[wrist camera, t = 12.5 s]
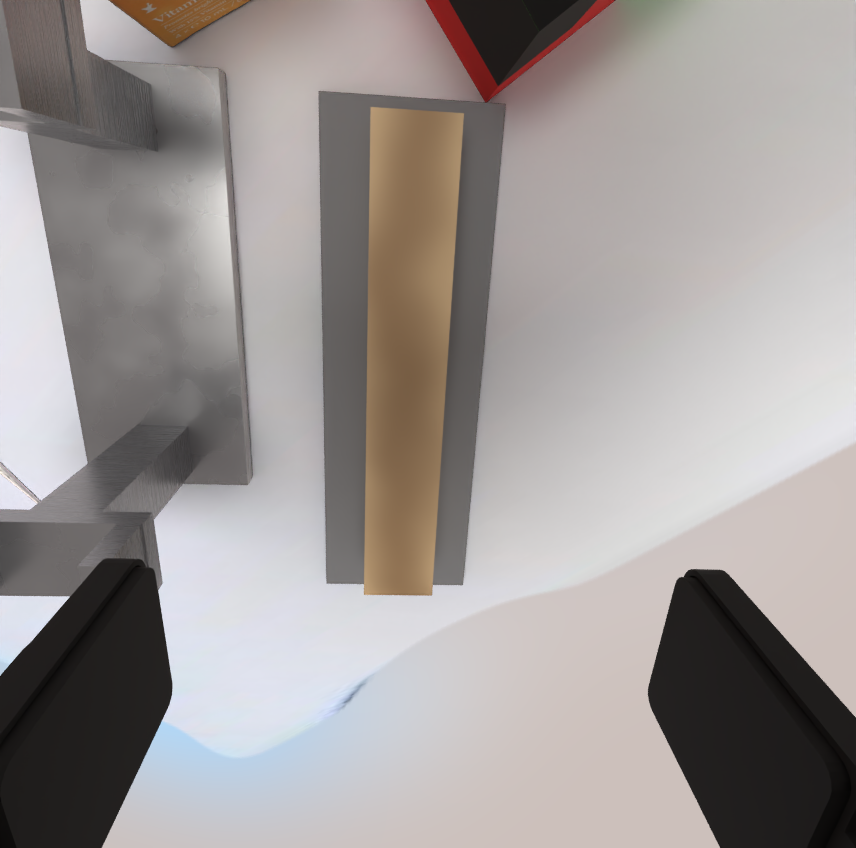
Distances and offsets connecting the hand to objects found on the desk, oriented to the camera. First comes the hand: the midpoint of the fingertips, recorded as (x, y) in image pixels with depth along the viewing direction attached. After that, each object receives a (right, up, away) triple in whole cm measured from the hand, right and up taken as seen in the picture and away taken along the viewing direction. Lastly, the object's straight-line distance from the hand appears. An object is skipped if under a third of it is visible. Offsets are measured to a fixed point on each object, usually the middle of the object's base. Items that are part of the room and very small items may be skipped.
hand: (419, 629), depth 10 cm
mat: (-1, +6, +18) cm, 20 cm away
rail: (-1, +6, +18) cm, 19 cm away
